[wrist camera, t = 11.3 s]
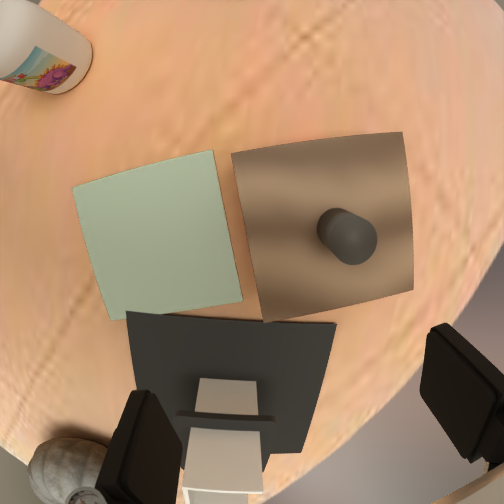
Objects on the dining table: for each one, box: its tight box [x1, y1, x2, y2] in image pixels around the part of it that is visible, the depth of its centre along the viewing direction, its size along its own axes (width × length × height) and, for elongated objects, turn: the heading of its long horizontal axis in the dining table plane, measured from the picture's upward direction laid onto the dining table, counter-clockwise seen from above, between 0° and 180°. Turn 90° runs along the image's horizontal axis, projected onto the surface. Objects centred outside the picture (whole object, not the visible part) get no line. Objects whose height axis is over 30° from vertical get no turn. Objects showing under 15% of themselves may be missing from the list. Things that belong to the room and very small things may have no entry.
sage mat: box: [72, 150, 243, 321], centre depth 31 cm, size 16×16×1 cm
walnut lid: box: [231, 132, 414, 323], centre depth 22 cm, size 14×14×5 cm
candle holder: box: [126, 311, 337, 504], centre depth 30 cm, size 25×24×16 cm
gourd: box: [27, 438, 108, 504], centre depth 35 cm, size 25×25×17 cm
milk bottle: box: [0, 0, 92, 94], centre depth 16 cm, size 8×8×20 cm
